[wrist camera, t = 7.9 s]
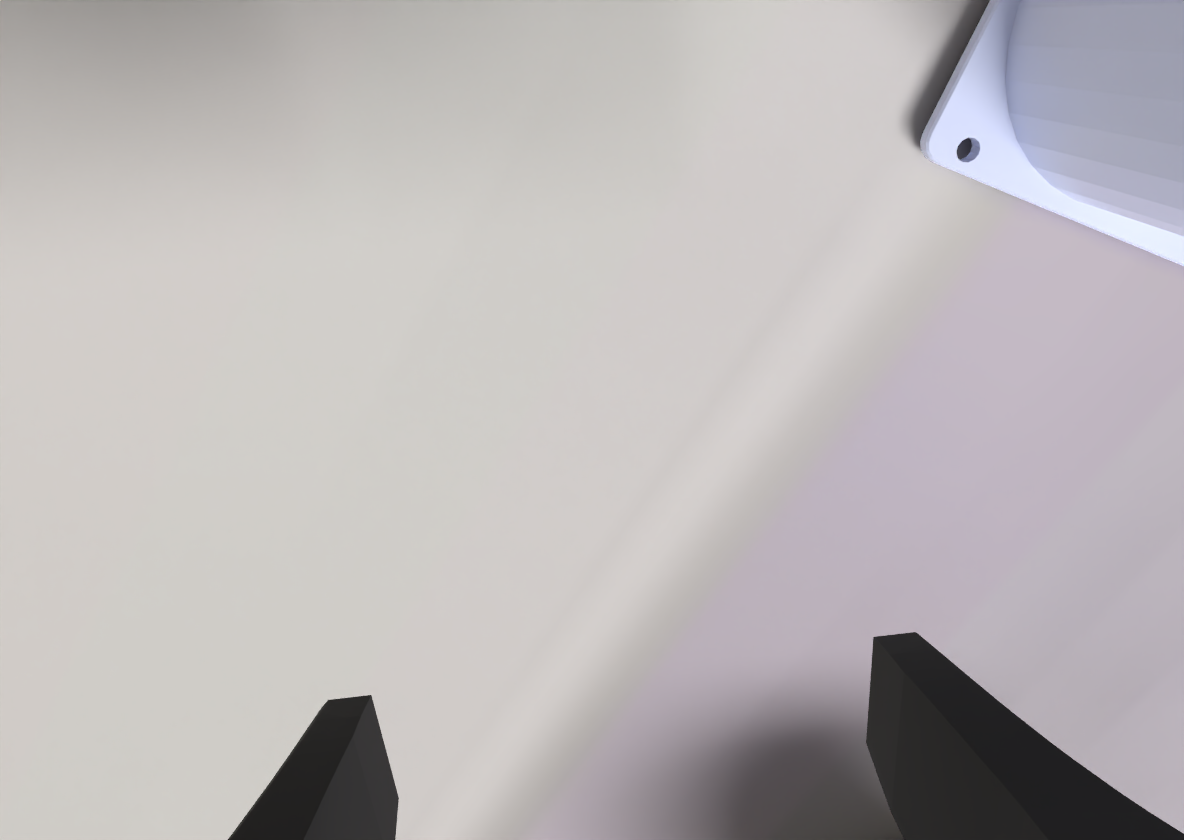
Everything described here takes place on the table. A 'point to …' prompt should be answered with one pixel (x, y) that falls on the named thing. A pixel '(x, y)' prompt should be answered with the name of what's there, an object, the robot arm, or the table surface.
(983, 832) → the robot arm
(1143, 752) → the table surface
